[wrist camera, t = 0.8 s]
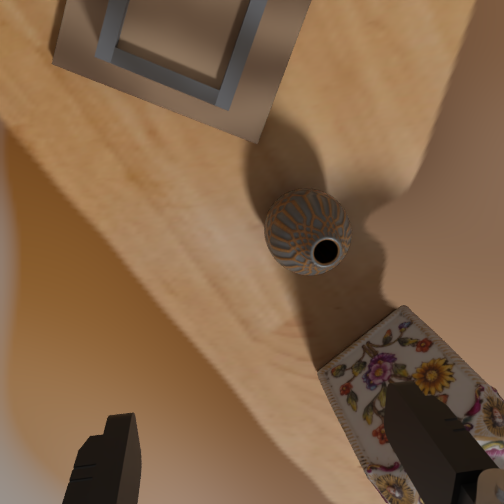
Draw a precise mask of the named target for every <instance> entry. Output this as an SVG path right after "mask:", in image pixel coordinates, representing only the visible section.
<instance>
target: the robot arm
mask: <svg viewBox="0 0 504 504" xmlns="http://www.w3.org/2000/svg"><path fill="white" fill-rule="evenodd" d="M384 430H385V434H386V437H387V439H388V442H389V443H390V445H391V447H392V449H393V450H394V452H395V454H396V456H397V457H398V459H399V461H400V463H401V464H402V466H403V468H404V469H405V471H406V473H407V475H408V476H409V478H410V480H411V482H412V483H413V485H414V487H415V489H416V490H417V492H418V494H419V496H420V497H421V499H422V501H423V502H424V504H504V470H503V469H500V468H499V467H498V466H497V465H496V464H495V462H494V461H493V460H492V459H491V458H490V456H489V455H488V454H487V453H486V452H485V450H484V449H483V448H482V447H481V446H480V444H479V443H478V442H477V441H476V440H475V438H474V437H473V436H472V435H471V434H470V432H469V431H467V430H466V427H465V426H464V425H463V424H462V423H461V421H460V420H458V419H457V417H456V415H455V414H454V413H453V412H452V411H451V409H450V408H449V407H448V406H447V405H446V404H445V403H443V402H442V401H440V400H439V399H437V398H436V397H434V396H433V395H427V396H425V395H424V393H423V392H422V391H421V389H420V388H419V387H418V386H417V384H416V383H415V382H414V381H403V382H395V383H389V384H388V386H387V392H386V402H385V412H384ZM140 479H141V449H140V443H139V437H138V431H137V424H136V418H135V414H134V413H126V414H117V415H110V416H108V418H107V422H106V426H105V430H104V434H103V435H95V436H90V437H89V438H88V439H87V441H86V442H85V443H84V444H83V446H82V447H81V448H80V449H79V451H78V454H77V457H76V460H75V464H74V469H73V470H72V474H71V477H70V482H69V483H68V486H67V490H66V493H65V496H64V499H63V503H62V504H137V503H138V494H139V487H140Z"/></svg>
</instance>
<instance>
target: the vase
mask: <svg viewBox="0 0 504 504" xmlns="http://www.w3.org/2000/svg"><path fill="white" fill-rule="evenodd" d="M264 234H265V240H266V243H267V246H268V248H269V251H270V252H271V254H272V256H273V257H274V258H275V260H276V261H277V262H278V263H279V264H281V265H282V266H283V267H284V268H286V269H288V270H290V271H292V272H294V273H298V274H302V275H318V274H322V273H325V272H327V271H329V270H331V269H333V268H334V267H336V266H337V265H338V264H339V263H340V262H341V261H342V260H343V258H344V257H345V255H346V254H347V252H348V249H349V247H350V243H351V225H350V221H349V218H348V216H347V213H346V212H345V210H344V208H343V207H342V206H341V204H340V203H339V202H338V201H337V200H335V199H334V198H333V197H331V196H330V195H328V194H326V193H324V192H322V191H319V190H315V189H308V188H305V189H297V190H293V191H290V192H288V193H286V194H284V195H283V196H281V197H280V198H279V199H278V200H277V201H276V202H275V203H274V204H273V205H272V207H271V208H270V210H269V212H268V214H267V217H266V220H265V226H264Z"/></svg>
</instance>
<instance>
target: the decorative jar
mask: <svg viewBox="0 0 504 504" xmlns="http://www.w3.org/2000/svg"><path fill="white" fill-rule="evenodd" d="M317 375H318V378H319V380H320V383H321V385H322V387H323V390H324V391H325V393H326V396H327V398H328V400H329V402H330V404H331V406H332V408H333V410H334V412H335V415H336V416H337V418H338V421H339V422H340V424H341V426H342V428H343V430H344V432H345V434H346V436H347V438H348V440H349V442H350V444H351V446H352V448H353V450H354V452H355V454H356V456H357V458H358V460H359V462H360V464H361V466H362V468H363V470H364V472H365V474H366V476H367V478H368V479H369V480H370V481H371V483H372V484H373V485H374V487H375V488H376V489H377V491H378V492H379V493H380V495H381V496H382V498H383V499H384V500H385V502H386V503H388V504H424V502H423V501H422V499H421V497H420V496H419V494H418V492H417V490H416V489H415V487H414V485H413V483H412V482H411V480H410V478H409V476H408V475H407V473H406V471H405V469H404V468H403V466H402V464H401V463H400V461H399V459H398V457H397V456H396V454H395V452H394V450H393V449H392V447H391V445H390V443H389V442H388V439H387V437H386V434H385V430H384V412H385V402H386V392H387V386H388V384H389V383H395V382H403V381H414V382H415V383H416V384H417V386H418V387H419V388H420V389H421V391H422V392H423V393H424V395H425V396H427V395H433V396H434V397H436V398H437V399H439V400H440V401H442V402H443V403H445V404H446V405H447V406H448V407H449V408H450V409H451V411H452V412H453V413H454V414H455V415H456V417H457V419H458V420H460V421H461V423H462V424H463V425H464V426H465V427H466V430H467V431H469V432H470V434H471V435H472V436H473V437H474V438H475V440H476V441H477V442H478V443H479V444H480V446H481V447H482V448H483V449H484V450H485V452H486V453H487V454H488V455H489V456H490V458H491V459H492V460H493V461H494V462H495V464H496V465H497V466H498V467H499V468H500V469H503V470H504V400H503V399H502V398H501V397H500V395H499V394H498V392H497V390H496V389H495V388H493V387H492V386H490V385H489V384H487V383H486V382H485V381H484V380H483V379H482V378H481V377H480V376H479V375H478V374H477V373H476V372H475V371H474V370H473V369H472V368H471V367H470V366H469V365H468V364H467V363H466V362H465V361H464V360H462V358H461V357H460V356H459V355H458V354H457V353H456V352H455V351H454V350H453V349H452V348H451V347H450V346H449V345H447V344H446V342H445V341H443V340H442V338H440V337H439V336H438V335H437V334H436V333H435V332H434V331H433V330H432V329H431V328H430V327H429V326H427V324H425V323H424V322H423V321H422V320H421V319H420V318H418V316H417V315H415V314H414V313H413V312H412V311H411V310H410V309H409V308H408V307H407V306H405V305H403V306H400V307H399V308H398V309H396V310H395V311H393V312H392V313H391V314H390V315H389V316H388V317H386V318H385V319H384V320H383V321H381V322H380V323H378V324H377V325H376V326H375V327H374V328H372V329H371V330H370V331H368V332H367V333H366V334H365V335H363V336H362V337H361V338H360V339H358V340H357V341H356V342H354V343H353V344H352V345H351V346H349V347H348V348H347V349H346V350H344V351H343V352H342V353H340V354H339V355H338V356H337V357H335V358H334V359H333V360H331V361H330V362H329V363H328V364H326V365H325V366H324V367H323V368H321V369H320V370H319V371H318V373H317Z"/></svg>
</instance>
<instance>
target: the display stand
mask: <svg viewBox="0 0 504 504" xmlns="http://www.w3.org/2000/svg"><path fill="white" fill-rule="evenodd" d="M310 3H311V0H67V1H66V6H65V10H64V14H63V18H62V23H61V27H60V31H59V36H58V40H57V44H56V48H55V53H54V57H53V61H52V64H53V65H55V66H58V67H61V68H63V69H66V70H68V71H71V72H73V73H76V74H78V75H81V76H84V77H86V78H89V79H91V80H94V81H96V82H99V83H102V84H104V85H107V86H109V87H112V88H114V89H117V90H119V91H122V92H125V93H127V94H130V95H132V96H135V97H137V98H140V99H142V100H145V101H148V102H150V103H153V104H155V105H158V106H160V107H163V108H166V109H168V110H171V111H173V112H176V113H178V114H181V115H183V116H186V117H189V118H191V119H194V120H196V121H199V122H201V123H204V124H207V125H209V126H212V127H214V128H217V129H219V130H222V131H224V132H227V133H230V134H232V135H235V136H237V137H240V138H242V139H245V140H247V141H250V142H253V143H255V144H258V141H259V139H260V136H261V133H262V131H263V128H264V125H265V123H266V120H267V117H268V115H269V112H270V109H271V107H272V104H273V101H274V99H275V96H276V93H277V91H278V88H279V85H280V83H281V80H282V77H283V75H284V72H285V69H286V67H287V64H288V61H289V59H290V56H291V53H292V51H293V48H294V45H295V43H296V40H297V37H298V35H299V32H300V29H301V27H302V24H303V21H304V19H305V16H306V13H307V11H308V8H309V5H310Z"/></svg>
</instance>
